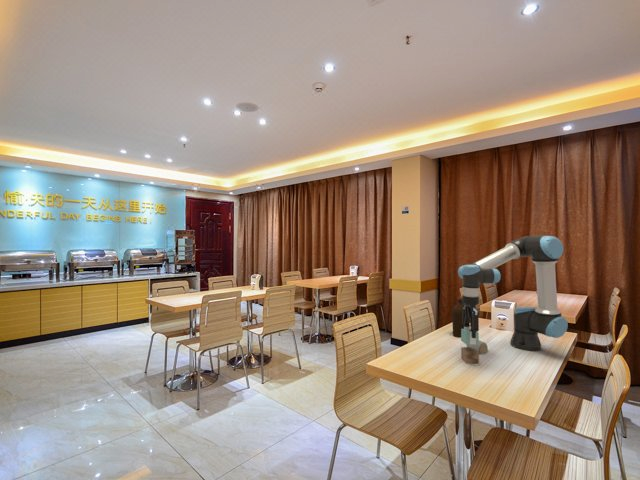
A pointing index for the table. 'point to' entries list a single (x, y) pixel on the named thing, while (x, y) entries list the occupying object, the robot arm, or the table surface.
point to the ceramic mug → (480, 347)
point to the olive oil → (457, 318)
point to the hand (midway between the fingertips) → (469, 341)
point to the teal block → (468, 336)
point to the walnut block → (469, 355)
